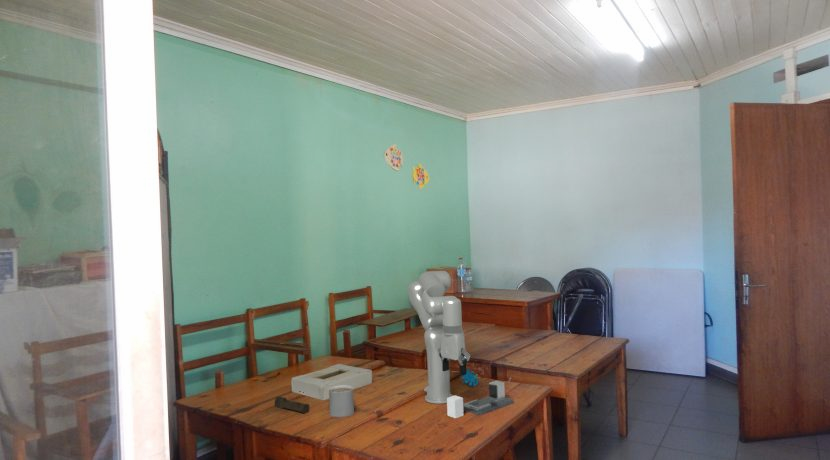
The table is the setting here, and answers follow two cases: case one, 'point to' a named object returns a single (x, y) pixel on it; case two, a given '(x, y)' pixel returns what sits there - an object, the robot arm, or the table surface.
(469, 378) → the gear
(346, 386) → the coffee mug
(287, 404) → the hand tool
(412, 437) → the table surface
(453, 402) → the block
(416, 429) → the table surface
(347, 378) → the box
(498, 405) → the rail
